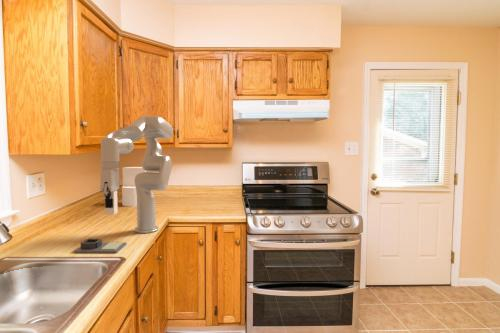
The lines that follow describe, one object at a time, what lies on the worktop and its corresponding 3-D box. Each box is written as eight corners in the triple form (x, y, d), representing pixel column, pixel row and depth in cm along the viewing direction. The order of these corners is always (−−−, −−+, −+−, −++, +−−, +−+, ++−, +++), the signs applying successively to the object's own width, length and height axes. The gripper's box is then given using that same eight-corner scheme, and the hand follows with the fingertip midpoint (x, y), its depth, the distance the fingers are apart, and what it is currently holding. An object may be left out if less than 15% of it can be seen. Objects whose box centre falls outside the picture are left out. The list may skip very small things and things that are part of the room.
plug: (108, 212, 149) (108, 190, 149) (117, 212, 150) (117, 190, 149) (105, 214, 145) (104, 191, 145) (114, 214, 146) (113, 191, 145)
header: (87, 244, 155) (87, 237, 154) (126, 244, 155) (126, 237, 155) (74, 253, 143) (74, 245, 142) (116, 253, 143) (116, 245, 143)
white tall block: (127, 201, 262) (127, 166, 260) (149, 202, 261) (148, 167, 259) (118, 206, 245) (117, 168, 243) (141, 206, 244) (140, 168, 242)
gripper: (109, 164, 154) (110, 203, 156) (93, 166, 138) (94, 210, 139) (125, 164, 154) (126, 203, 156) (111, 167, 138) (112, 210, 139)
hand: (111, 206), depth 147 cm, fingers closed on plug, 4 cm apart
